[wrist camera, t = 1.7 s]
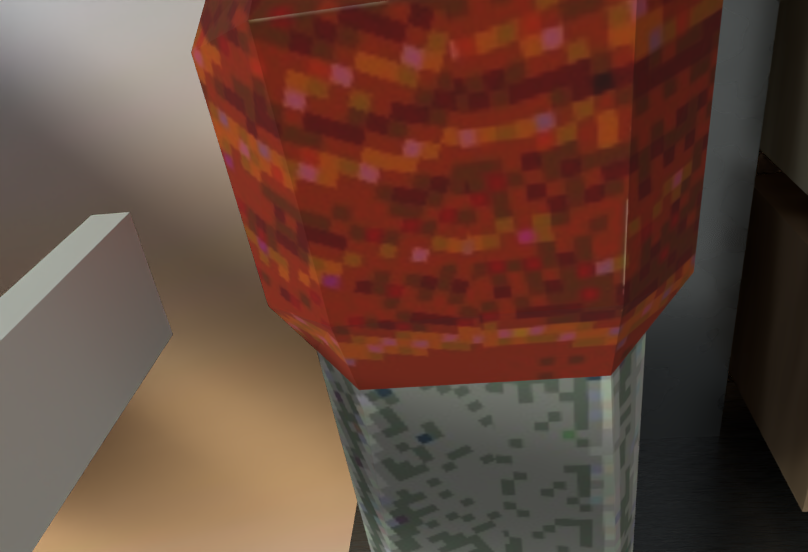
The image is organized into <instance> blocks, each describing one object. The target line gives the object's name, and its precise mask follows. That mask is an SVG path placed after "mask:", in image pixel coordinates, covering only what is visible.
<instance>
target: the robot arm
mask: <svg viewBox="0 0 808 552" xmlns="http://www.w3.org/2000/svg"><path fill="white" fill-rule="evenodd" d="M172 335H173V333H172V331H171V328H170V325H169V322H168V319H167V316H166V313H165V311H164V308H163V305H162V302H161V299H160V296H159V294H158V291H157V288H156V285H155V282H154V279H153V277H152V274H151V271H150V268H149V265H148V262H147V260H146V257H145V254H144V251H143V248H142V245H141V243H140V240H139V237H138V234H137V231H136V228H135V226H134V223H133V220H132V217H131V214H130V212H124V213H112V214H99V215H91V216H90V217H89V218H88V219H86V220H85V221H84V222H83V223H82V224H81V225H80V226H79V227H78V228H77V229H75V230H74V231H73V232H72V233H71V234H70V235H69V236H68V237H67V238H65V239H64V240H63V241H62V242H61V243H60V244H59V245H58V246H57V247H55V248H54V249H53V250H52V251H51V252H50V253H49V254H48V255H47V256H46V257H44V258H43V259H42V260H41V261H40V262H39V263H38V264H37V265H36V266H34V267H33V268H32V269H31V270H30V271H29V272H28V273H27V274H26V275H25V276H23V277H22V278H21V279H20V280H19V281H18V282H17V283H16V284H15V285H13V286H12V287H11V288H10V289H9V290H8V291H7V292H6V293H5V294H4V295H2V296H1V297H0V552H32V551H33V549H34V548H35V546H36V545H37V543H38V542H39V540H40V539H41V537H42V535H43V534H44V532H45V531H46V529H47V528H48V526H49V525H50V523H51V522H52V520H53V518H54V517H55V515H56V514H57V512H58V511H59V509H60V508H61V506H62V505H63V503H64V501H65V500H66V498H67V497H68V495H69V494H70V492H71V491H72V489H73V488H74V486H75V485H76V483H77V481H78V480H79V478H80V477H81V475H82V474H83V472H84V471H85V469H86V468H87V466H88V464H89V463H90V461H91V460H92V458H93V457H94V455H95V454H96V452H97V451H98V449H99V448H100V446H101V444H102V443H103V441H104V440H105V438H106V437H107V435H108V434H109V432H110V431H111V429H112V427H113V426H114V424H115V423H116V421H117V420H118V418H119V417H120V415H121V414H122V412H123V411H124V409H125V407H126V406H127V404H128V403H129V401H130V400H131V398H132V397H133V395H134V394H135V392H136V390H137V389H138V387H139V386H140V384H141V383H142V381H143V380H144V378H145V377H146V375H147V373H148V372H149V370H150V369H151V367H152V366H153V364H154V363H155V361H156V360H157V358H158V357H159V355H160V353H161V352H162V350H163V349H164V347H165V346H166V344H167V343H168V341H169V340H170V338H171V336H172Z"/></svg>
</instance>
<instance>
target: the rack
mask: <svg viewBox="0 0 808 552" xmlns="http://www.w3.org/2000/svg"><path fill="white" fill-rule="evenodd" d="M779 2H780V0H723V8H722V17H721V26H720V35H719V44H718V53H717V63H716V72H715V81H714V90H713V99H712V109H711V118H710V127H709V136H708V145H707V154H706V164H705V173H704V182H703V191H702V200H701V209H700V219H699V228H698V237H697V246H696V255H695V265H694V272H693V273H692V275H691V276H690V277H689V278H688V280H687V281H686V282H685V283H684V285H683V286H682V287H681V288H680V290H679V291H678V292H677V293H676V295H675V296H674V297H673V299H672V300H671V301H670V302H669V304H668V305H667V306H666V307H665V309H664V310H663V311H662V312H661V314H660V315H659V316H658V317H657V319H656V320H655V321H654V322H653V324H652V325H651V326H650V327H649V329H648V330H647V331H646V340H645V357H644V373H643V390H642V407H641V424H640V441H639V457H638V474H637V491H636V508H635V525H634V542H633V552H808V512H802V510H801V508H800V506H799V505H798V503H797V501H796V499H795V497H794V495H793V493H792V491H791V489H790V487H789V485H788V484H787V482H786V480H785V478H784V476H783V474H782V472H781V470H780V468H779V466H778V464H777V463H776V461H775V459H774V457H773V455H772V453H771V451H770V449H769V447H768V445H767V443H766V442H765V440H764V438H763V436H762V434H761V432H760V430H759V428H758V426H757V424H756V422H755V421H754V419H753V417H752V415H751V413H750V411H749V409H748V407H747V405H746V403H745V401H744V400H743V398H742V396H741V394H740V392H739V390H738V388H737V386H736V384H735V382H727V378H728V371H729V363H730V356H731V349H732V342H733V334H734V327H735V320H736V313H737V306H738V298H739V291H740V284H741V277H742V269H743V262H744V255H745V248H746V240H747V233H748V226H749V219H750V212H751V204H752V197H753V190H754V183H755V175H756V168H757V161H758V154H759V147H760V139H761V132H762V125H763V118H764V110H765V103H766V96H767V89H768V81H769V74H770V67H771V60H772V53H773V45H774V38H775V31H776V24H777V16H778V9H779ZM349 552H371V550H370V546H369V542H368V538H367V535H366V531H365V527H364V524H363V520H362V516H361V513H360V509H359V505H358V501H357V507H356V513H355V519H354V525H353V531H352V537H351V543H350V548H349Z"/></svg>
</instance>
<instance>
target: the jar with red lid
mask: <svg viewBox="0 0 808 552" xmlns="http://www.w3.org/2000/svg"><path fill="white" fill-rule="evenodd" d="M722 8H723V0H205V4H204V8H203V11H202V15H201V18H200V22H199V26H198V29H197V33H196V37H195V40H194V44H193V47H192V51H191V53H192V57H193V60H194V63H195V67H196V70H197V73H198V76H199V80H200V83H201V86H202V90H203V93H204V96H205V99H206V103H207V106H208V109H209V113H210V116H211V119H212V122H213V126H214V129H215V132H216V136H217V139H218V142H219V145H220V149H221V152H222V155H223V159H224V162H225V165H226V168H227V172H228V175H229V178H230V182H231V185H232V188H233V191H234V195H235V198H236V201H237V205H238V208H239V211H240V214H241V218H242V221H243V224H244V228H245V231H246V234H247V237H248V241H249V244H250V247H251V251H252V254H253V257H254V260H255V264H256V267H257V270H258V274H259V277H260V280H261V283H262V287H263V290H264V293H265V297H266V300H267V303H268V306H269V307H270V308H271V309H272V310H273V311H274V312H275V313H277V314H278V315H279V316H280V317H281V318H282V319H283V320H284V321H285V322H286V323H287V324H289V325H290V326H291V327H292V328H293V329H294V330H295V331H296V332H297V333H298V334H299V335H301V336H302V337H303V338H304V339H305V340H306V341H307V342H308V343H309V344H310V345H311V346H313V347H314V348H315V349H316V350H317V354H318V357H319V361H320V365H321V368H322V372H323V376H324V380H325V383H326V387H327V391H328V394H329V398H330V402H331V405H332V409H333V413H334V417H335V420H336V424H337V428H338V431H339V435H340V439H341V442H342V446H343V450H344V453H345V457H346V461H347V465H348V468H349V472H350V476H351V479H352V483H353V487H354V490H355V494H356V498H357V501H358V505H359V509H360V513H361V516H362V520H363V524H364V527H365V531H366V535H367V538H368V542H369V546H370V550H371V552H633V542H634V525H635V508H636V491H637V474H638V457H639V441H640V424H641V407H642V390H643V373H644V357H645V340H646V331H647V330H648V329H649V327H650V326H651V325H652V324H653V322H654V321H655V320H656V319H657V317H658V316H659V315H660V314H661V312H662V311H663V310H664V309H665V307H666V306H667V305H668V304H669V302H670V301H671V300H672V299H673V297H674V296H675V295H676V293H677V292H678V291H679V290H680V288H681V287H682V286H683V285H684V283H685V282H686V281H687V280H688V278H689V277H690V276H691V275H692V273H693V272H694V265H695V255H696V246H697V237H698V228H699V219H700V209H701V200H702V191H703V182H704V173H705V164H706V154H707V145H708V136H709V127H710V118H711V109H712V99H713V90H714V81H715V72H716V63H717V53H718V44H719V35H720V26H721V17H722Z"/></svg>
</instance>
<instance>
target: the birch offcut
mask: <svg viewBox="0 0 808 552" xmlns="http://www.w3.org/2000/svg"><path fill="white" fill-rule="evenodd" d="M759 149H760V150H761V151H762V152H763V153H764V154H765V155H766V156H767V157H768V158H769V159H770V160H771V161H772V162H773V163H774V164H775V165H777V166H778V167H779V168H780V169H781V170H782V171H783V172H784V173H785V174H786V175H787V176H788V177H789V178H790V179H791V180H792V181H793V182H794V183H795V184H796V185H797V186H799V187H800V188H801V189H802V190H803V191H804V192H805V193H806V194H807V195H808V0H780V2H779V9H778V16H777V24H776V31H775V38H774V45H773V53H772V60H771V67H770V74H769V81H768V89H767V96H766V103H765V110H764V118H763V125H762V132H761V139H760V147H759Z"/></svg>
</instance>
